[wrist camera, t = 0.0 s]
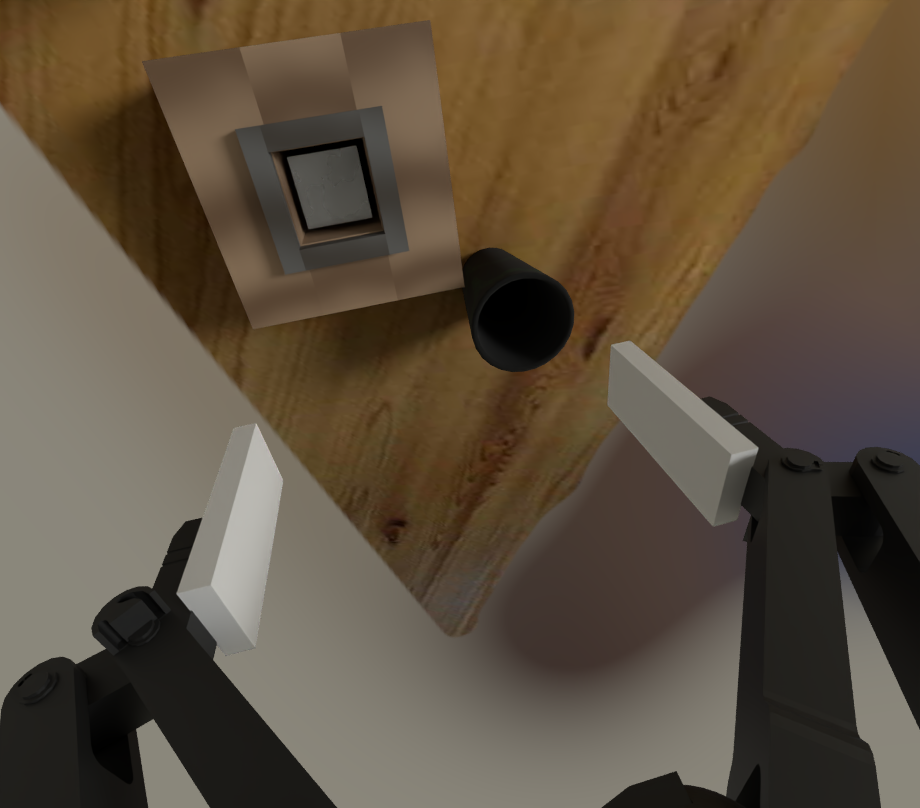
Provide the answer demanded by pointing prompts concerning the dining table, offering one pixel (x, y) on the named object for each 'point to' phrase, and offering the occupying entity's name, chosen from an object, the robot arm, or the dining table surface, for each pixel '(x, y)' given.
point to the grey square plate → (330, 186)
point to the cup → (515, 311)
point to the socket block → (309, 124)
